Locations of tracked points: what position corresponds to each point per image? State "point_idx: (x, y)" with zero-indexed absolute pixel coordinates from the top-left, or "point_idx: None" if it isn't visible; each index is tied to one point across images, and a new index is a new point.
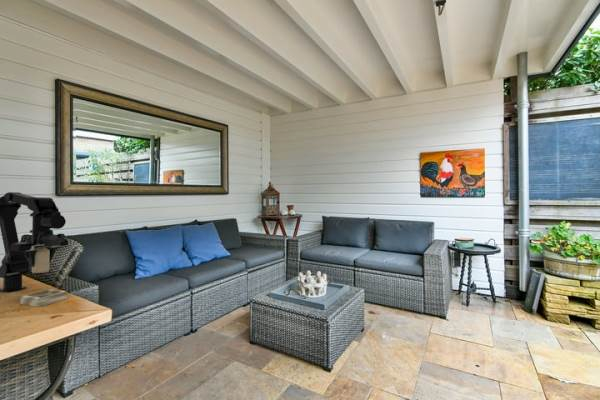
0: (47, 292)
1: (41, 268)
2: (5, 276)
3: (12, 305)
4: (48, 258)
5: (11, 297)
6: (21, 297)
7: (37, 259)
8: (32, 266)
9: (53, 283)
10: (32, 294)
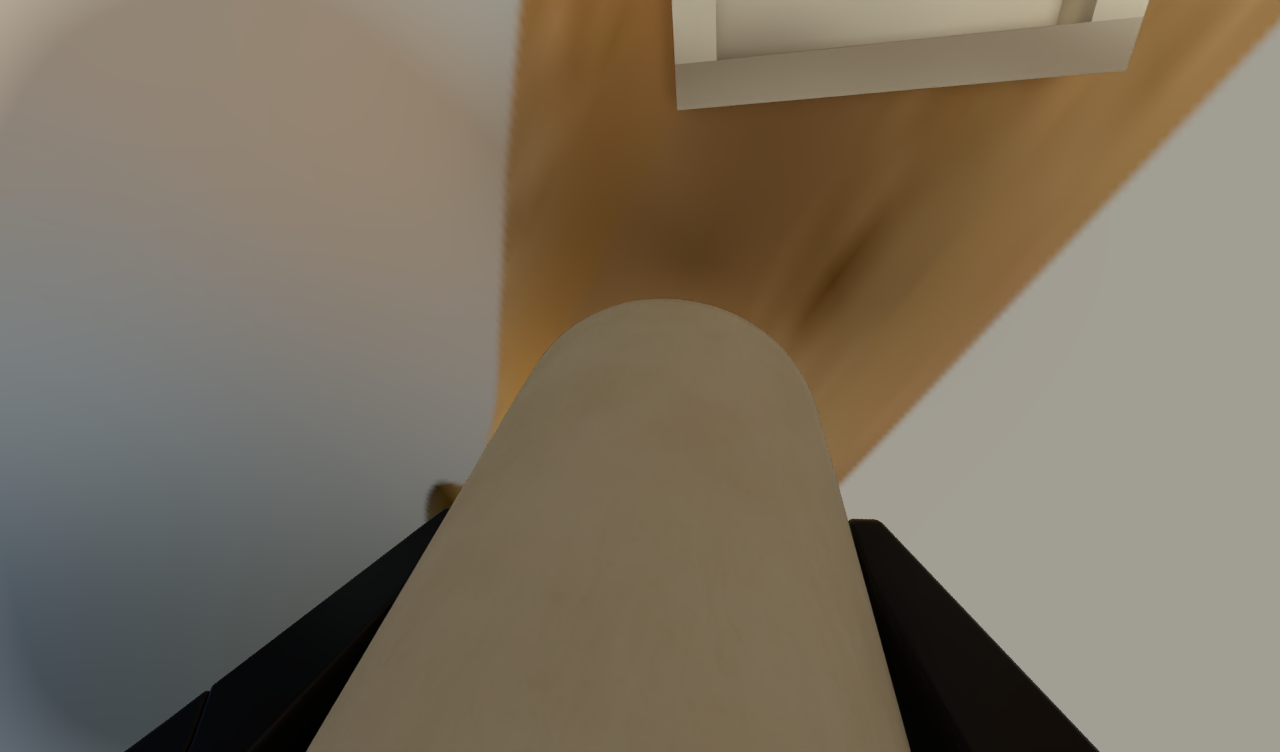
0: (725, 57)
1: (739, 360)
2: None
3: (1119, 102)
4: (450, 569)
5: (848, 419)
6: (1120, 44)
7: (873, 677)
8: (879, 535)
9: (428, 505)
10: (967, 34)
